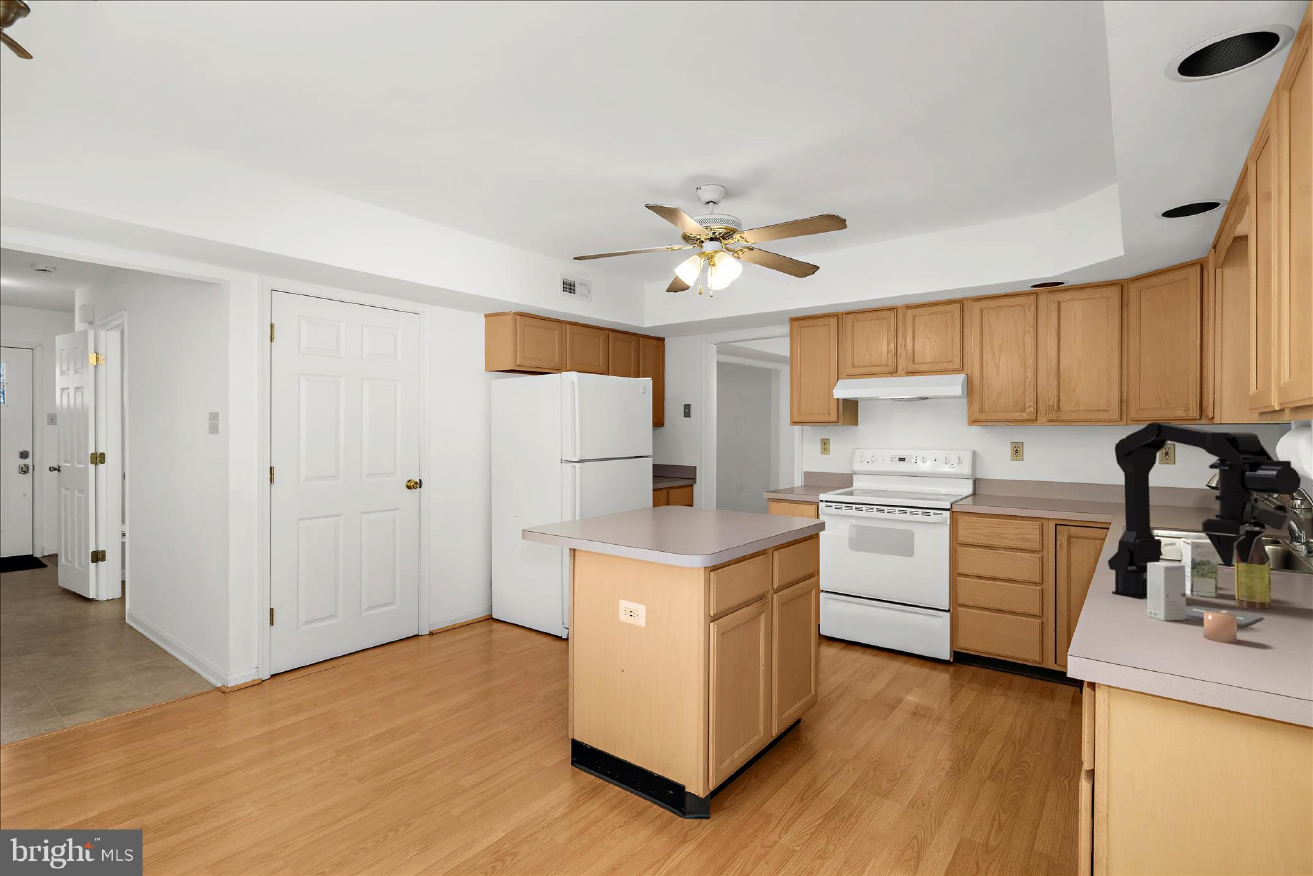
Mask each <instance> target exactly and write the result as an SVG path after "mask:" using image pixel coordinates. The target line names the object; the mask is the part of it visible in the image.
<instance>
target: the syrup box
mask: <svg viewBox="0 0 1313 876" xmlns="http://www.w3.org/2000/svg"><path fill="white" fill-rule="evenodd" d="M1180 546H1181V548H1180V549H1181V550H1180V564H1182V565H1185V576H1186V595H1188V596H1190V595H1192V596H1191V597H1200V596H1205V598H1218V596H1219V595H1218V593H1219V592H1218V590H1219V589H1218V588H1219V587H1218V584H1219V583H1218V582H1219V581H1218V580H1219V578H1218V577H1219V555H1218V553H1217V551H1216V549H1215V548H1214V546H1213V544H1212V543H1211V541H1210V540H1209V538H1196V537H1195V538H1193V537H1182V538H1181V545H1180Z"/></svg>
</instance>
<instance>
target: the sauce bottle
mask: <svg viewBox="0 0 1313 876" xmlns="http://www.w3.org/2000/svg"><path fill="white" fill-rule="evenodd" d="M1259 530H1264V529H1262V528H1259ZM1271 577H1272V575H1271V558H1270V556H1269V554H1268V551H1267V549H1266V547H1265V545H1264V543H1263V535H1261V536H1259V537H1258V538H1257V539H1256V542H1255V545H1254V547H1253V550H1252V553H1251V556H1250V559H1249V562H1247V563H1246V562H1241V560H1240V557H1239V555H1238V553H1237V550H1235V555H1234V585H1235V587H1234V589H1235V599H1236V601H1235V602H1236V603H1235V604H1236V605H1238V606H1240V607H1243V606H1244V607H1245V608H1247V609H1248V608H1250V609H1257V610H1268V609H1271V603H1272V586H1271V585H1272V584H1271Z"/></svg>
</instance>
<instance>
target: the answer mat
mask: <svg viewBox="0 0 1313 876" xmlns="http://www.w3.org/2000/svg"><path fill="white" fill-rule="evenodd" d="M1205 611H1217V612H1225V613H1229V614H1233V615H1236V616H1237V628H1243V627H1245V626H1249V625H1251V624H1254V623H1256V622H1258V621H1260V620H1262V619H1263V618H1264V617H1263V616H1260V615H1256V614H1249V613H1244V612H1239V611H1232V610H1226V609H1220V608H1216V607H1210V606H1205V605H1199V604H1195V605H1191V606H1189V607H1186V618H1187V617H1188V618H1193V619H1198V620H1201V621H1204V612H1205Z"/></svg>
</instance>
